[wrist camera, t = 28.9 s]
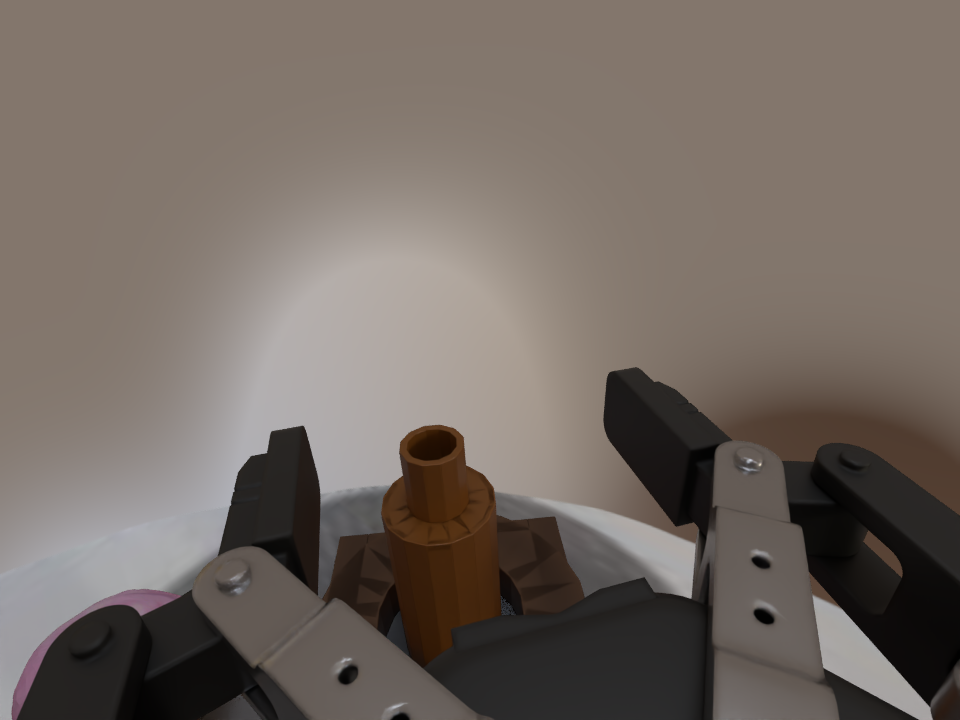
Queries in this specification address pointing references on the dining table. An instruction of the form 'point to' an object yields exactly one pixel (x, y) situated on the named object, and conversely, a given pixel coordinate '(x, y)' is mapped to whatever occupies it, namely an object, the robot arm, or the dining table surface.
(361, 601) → the board
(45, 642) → the cupcake
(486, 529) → the bottle
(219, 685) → the robot arm
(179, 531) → the dining table surface
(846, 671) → the dining table surface
